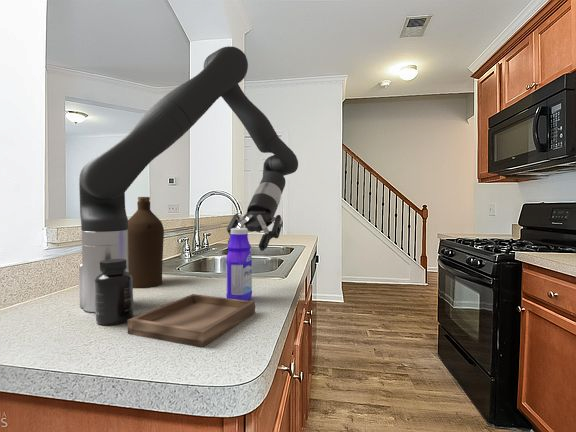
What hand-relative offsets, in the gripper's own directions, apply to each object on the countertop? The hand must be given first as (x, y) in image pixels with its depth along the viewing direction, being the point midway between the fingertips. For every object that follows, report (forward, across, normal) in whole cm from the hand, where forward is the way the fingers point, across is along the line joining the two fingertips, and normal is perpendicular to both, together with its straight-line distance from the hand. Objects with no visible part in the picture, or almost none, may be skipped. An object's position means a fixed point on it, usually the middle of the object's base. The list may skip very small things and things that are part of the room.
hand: (245, 247), depth 87 cm
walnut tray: (+23, 0, -6) cm, 24 cm away
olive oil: (+8, -33, +9) cm, 35 cm away
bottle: (+11, 0, +6) cm, 13 cm away
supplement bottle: (+27, -16, -9) cm, 32 cm away
